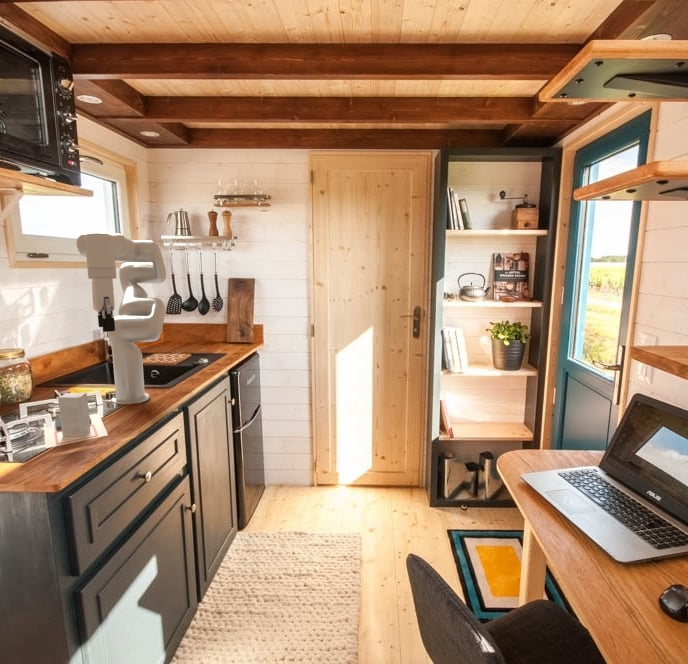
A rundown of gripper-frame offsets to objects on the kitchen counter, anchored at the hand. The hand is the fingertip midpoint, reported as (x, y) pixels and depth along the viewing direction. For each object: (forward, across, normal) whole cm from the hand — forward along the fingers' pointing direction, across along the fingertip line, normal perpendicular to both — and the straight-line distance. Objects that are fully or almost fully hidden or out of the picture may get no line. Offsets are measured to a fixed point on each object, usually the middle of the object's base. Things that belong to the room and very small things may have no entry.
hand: (106, 328), depth 129 cm
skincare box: (+30, +7, -11) cm, 32 cm away
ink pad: (+30, -2, -11) cm, 32 cm away
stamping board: (+30, +3, -11) cm, 32 cm away
